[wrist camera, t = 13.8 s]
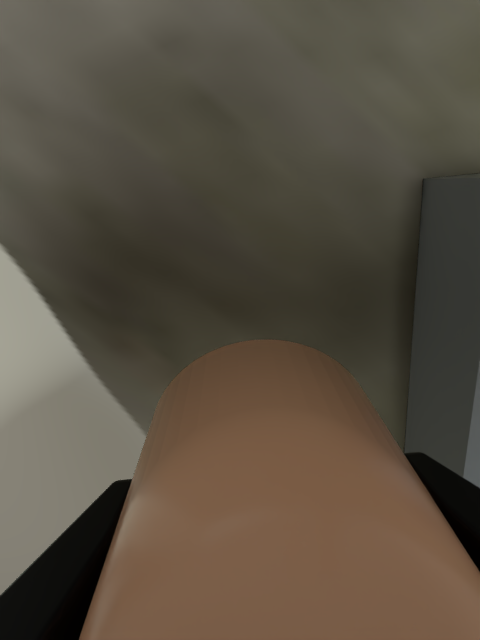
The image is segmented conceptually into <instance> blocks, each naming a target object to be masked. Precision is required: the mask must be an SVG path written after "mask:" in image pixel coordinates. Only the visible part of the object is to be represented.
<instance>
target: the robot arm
mask: <svg viewBox="0 0 480 640" xmlns="http://www.w3.org/2000/svg"><path fill="white" fill-rule="evenodd" d="M404 455H405V456H406V458H407V459H408V461H409V462H410V464H411V466H412V467H413V469H414V470H415V472H416V473H417V475H418V477H419V478H420V480H421V481H422V483H423V484H424V486H425V487H426V489H427V491H428V492H429V494H430V495H431V497H432V498H433V500H434V501H435V503H436V505H437V506H438V508H439V509H440V511H441V512H442V514H443V515H444V517H445V519H446V520H447V522H448V523H449V525H450V526H451V528H452V530H453V531H454V533H455V534H456V536H457V537H458V539H459V540H460V542H461V544H462V545H463V547H464V548H465V550H466V551H467V553H468V554H469V556H470V558H471V559H472V561H473V562H474V564H475V565H476V567H477V568H478V570H479V572H480V488H479V487H478V486H476V485H474V484H473V483H471V482H470V481H468V480H466V479H465V478H463V477H462V476H460V475H458V474H457V473H455V472H454V471H452V470H450V469H449V468H447V467H445V466H444V465H442V464H441V463H439V462H437V461H436V460H434V459H433V458H431V457H429V456H428V455H426V454H424V453H422V452H410V453H404ZM131 481H132V479H127V480H118V481H115V482H114V483H112V484H111V485H110V486H109V487H108V489H106V490H105V491H104V492H103V493H102V494H101V495H100V496H99V498H97V499H96V500H95V501H94V502H93V503H92V504H91V505H90V506H89V507H88V508H87V509H86V510H85V511H84V512H83V513H82V514H81V515H80V516H79V517H78V518H77V519H76V520H75V521H74V522H73V523H72V524H71V525H70V526H69V527H68V528H67V529H66V530H65V531H64V532H63V533H62V534H61V535H60V536H59V537H58V538H57V539H56V540H55V541H54V542H53V543H52V544H51V545H50V546H49V547H48V548H47V549H46V550H45V551H44V552H43V553H42V554H41V555H40V556H39V557H38V558H37V559H36V560H35V561H34V562H33V563H32V564H31V565H30V566H29V567H28V568H27V569H26V570H25V571H24V572H23V573H22V574H21V575H20V576H19V577H18V578H17V579H16V580H15V581H14V582H13V583H12V584H11V585H10V586H9V587H8V588H7V589H6V590H5V591H4V592H3V593H2V594H1V595H0V640H79V637H80V634H81V631H82V628H83V625H84V622H85V619H86V616H87V613H88V610H89V607H90V604H91V601H92V598H93V595H94V592H95V589H96V586H97V583H98V580H99V577H100V574H101V571H102V568H103V565H104V562H105V559H106V556H107V553H108V550H109V547H110V544H111V541H112V538H113V535H114V532H115V529H116V526H117V523H118V520H119V517H120V514H121V511H122V508H123V505H124V502H125V499H126V496H127V493H128V490H129V487H130V484H131Z"/></svg>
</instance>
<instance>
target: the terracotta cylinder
mask: <svg viewBox="0 0 480 640" xmlns="http://www.w3.org/2000/svg"><path fill="white" fill-rule="evenodd" d="M79 640H480V572H479V570H478V568H477V567H476V565H475V564H474V562H473V561H472V559H471V558H470V556H469V554H468V553H467V551H466V550H465V548H464V547H463V545H462V544H461V542H460V540H459V539H458V537H457V536H456V534H455V533H454V531H453V530H452V528H451V526H450V525H449V523H448V522H447V520H446V519H445V517H444V515H443V514H442V512H441V511H440V509H439V508H438V506H437V505H436V503H435V501H434V500H433V498H432V497H431V495H430V494H429V492H428V491H427V489H426V487H425V486H424V484H423V483H422V481H421V480H420V478H419V477H418V475H417V473H416V472H415V470H414V469H413V467H412V466H411V464H410V462H409V461H408V459H407V458H406V456H405V455H404V453H403V452H402V450H401V448H400V447H399V445H398V444H397V442H396V441H395V439H394V438H393V436H392V434H391V433H390V431H389V430H388V428H387V427H386V425H385V424H384V422H383V420H382V419H381V417H380V416H379V414H378V413H377V411H376V409H375V408H374V406H373V405H372V403H371V402H370V400H369V399H368V397H367V395H366V394H365V392H364V391H363V389H362V388H361V386H360V385H359V383H358V382H357V381H356V379H355V378H354V377H353V376H352V374H351V373H350V372H349V371H348V370H346V369H345V368H344V367H343V366H342V365H341V364H340V363H338V362H337V361H335V360H334V359H333V358H331V357H330V356H328V355H326V354H324V353H322V352H320V351H318V350H316V349H314V348H311V347H308V346H305V345H302V344H299V343H294V342H289V341H284V340H271V339H264V340H249V341H243V342H237V343H234V344H230V345H227V346H223V347H220V348H218V349H216V350H213V351H211V352H209V353H207V354H205V355H203V356H201V357H200V358H198V359H196V360H195V361H193V362H192V363H191V364H189V365H188V366H187V367H186V368H184V369H183V370H182V371H181V372H180V373H179V374H178V375H177V376H176V377H175V378H174V379H173V380H172V381H171V383H170V384H169V385H168V387H167V388H166V389H165V391H164V392H163V394H162V396H161V398H160V400H159V402H158V404H157V407H156V410H155V412H154V415H153V418H152V421H151V424H150V427H149V430H148V433H147V436H146V439H145V443H144V445H143V448H142V452H141V454H140V457H139V461H138V463H137V466H136V469H135V473H134V475H133V478H132V481H131V484H130V487H129V490H128V493H127V496H126V499H125V502H124V505H123V508H122V511H121V514H120V517H119V520H118V523H117V526H116V529H115V532H114V535H113V538H112V541H111V544H110V547H109V550H108V553H107V556H106V559H105V562H104V565H103V568H102V571H101V574H100V577H99V580H98V583H97V586H96V589H95V592H94V595H93V598H92V601H91V604H90V607H89V610H88V613H87V616H86V619H85V622H84V625H83V628H82V631H81V634H80V637H79Z"/></svg>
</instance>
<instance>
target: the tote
mask: <svg viewBox="0 0 480 640" xmlns="http://www.w3.org/2000/svg"><path fill="white" fill-rule="evenodd" d="M410 452H422V453H424V454H426V455H428V456H429V457H431V458H433V459H434V460H436V461H437V462H439V463H441V464H442V465H444V466H445V467H447V468H449V469H450V470H452V471H454V472H455V473H457V474H458V475H460V476H462V477H463V478H465V479H466V480H468V481H470V482H471V483H473V484H474V485H476V486H478V487H479V488H480V173H476V174H466V175H456V176H446V177H436V178H426V179H423V193H422V207H421V221H420V236H419V250H418V264H417V278H416V292H415V307H414V321H413V335H412V349H411V364H410V378H409V392H408V406H407V421H406V435H405V449H404V453H410Z"/></svg>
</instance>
